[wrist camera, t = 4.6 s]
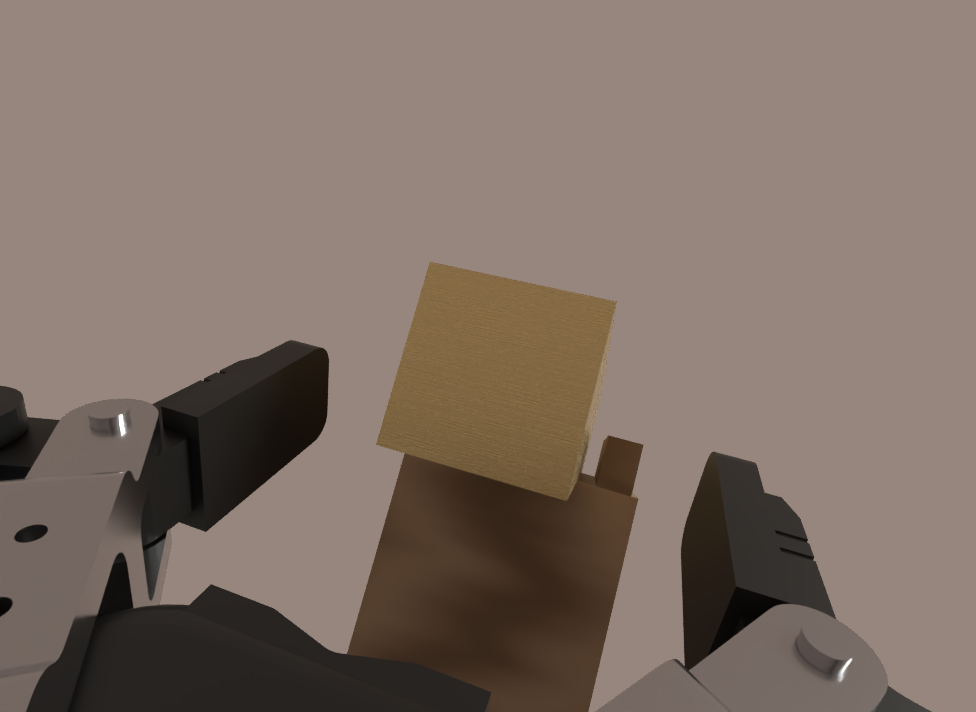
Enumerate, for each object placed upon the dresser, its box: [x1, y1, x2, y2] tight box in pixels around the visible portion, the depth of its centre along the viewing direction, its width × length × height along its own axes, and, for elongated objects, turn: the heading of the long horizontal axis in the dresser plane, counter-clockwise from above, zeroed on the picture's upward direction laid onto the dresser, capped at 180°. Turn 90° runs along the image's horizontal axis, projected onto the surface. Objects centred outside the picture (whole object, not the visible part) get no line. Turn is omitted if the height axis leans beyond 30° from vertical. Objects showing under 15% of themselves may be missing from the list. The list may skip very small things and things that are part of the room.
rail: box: [376, 262, 616, 501], centre depth 17 cm, size 4×15×4 cm, turn 169°
